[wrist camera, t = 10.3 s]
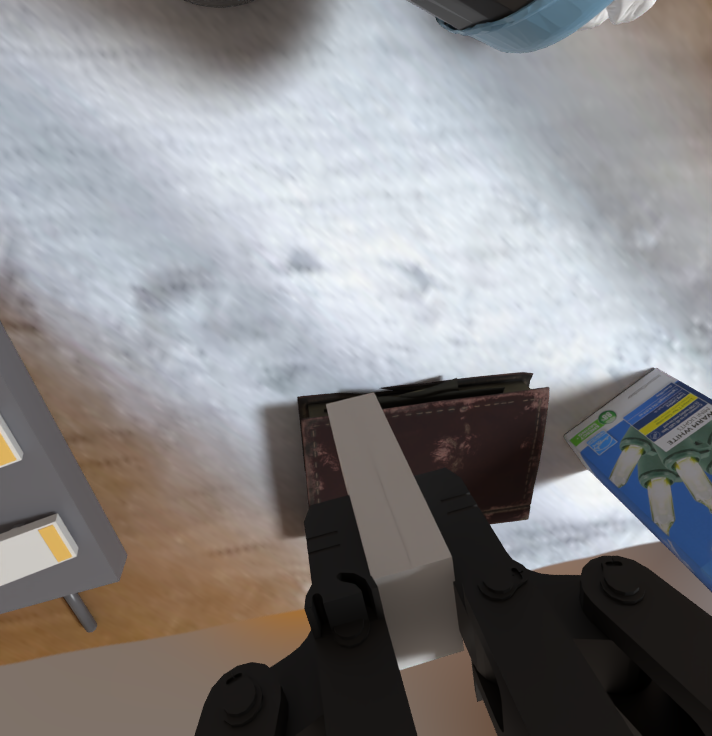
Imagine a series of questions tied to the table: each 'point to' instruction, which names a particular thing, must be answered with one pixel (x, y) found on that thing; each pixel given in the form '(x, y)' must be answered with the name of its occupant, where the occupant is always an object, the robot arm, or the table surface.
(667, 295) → the table surface
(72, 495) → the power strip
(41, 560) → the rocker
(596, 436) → the string lights box
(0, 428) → the rocker middle
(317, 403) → the diary
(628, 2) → the white tied pouch
